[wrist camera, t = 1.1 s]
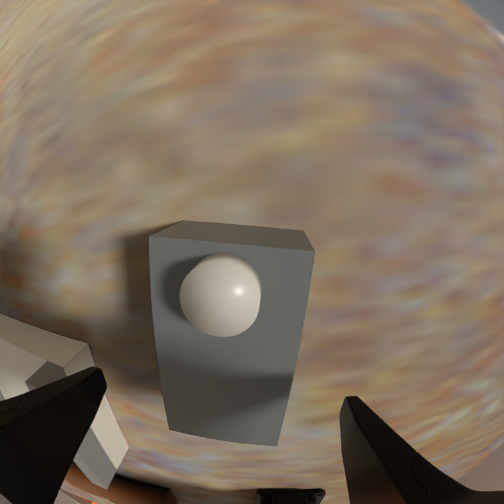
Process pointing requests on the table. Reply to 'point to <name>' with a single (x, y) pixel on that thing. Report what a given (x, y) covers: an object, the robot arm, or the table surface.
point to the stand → (52, 369)
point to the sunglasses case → (120, 489)
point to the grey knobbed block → (228, 325)
